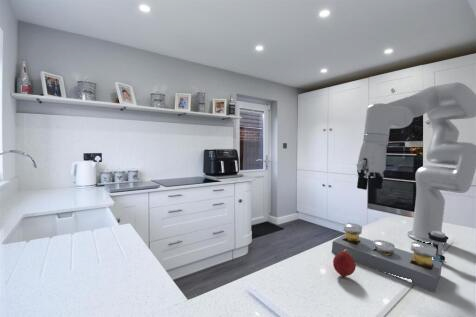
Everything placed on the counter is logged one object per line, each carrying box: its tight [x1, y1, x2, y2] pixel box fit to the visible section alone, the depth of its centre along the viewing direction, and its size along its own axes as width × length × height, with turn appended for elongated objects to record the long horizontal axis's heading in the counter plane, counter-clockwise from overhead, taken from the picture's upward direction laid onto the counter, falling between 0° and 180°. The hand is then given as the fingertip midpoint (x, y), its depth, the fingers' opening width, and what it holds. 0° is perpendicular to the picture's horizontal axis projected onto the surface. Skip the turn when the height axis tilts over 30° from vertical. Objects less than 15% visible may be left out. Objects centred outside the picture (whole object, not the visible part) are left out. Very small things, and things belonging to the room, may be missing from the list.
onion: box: [332, 249, 356, 278], centre depth 66 cm, size 6×6×8 cm
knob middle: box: [373, 239, 396, 256], centre depth 76 cm, size 6×6×6 cm
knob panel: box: [331, 234, 443, 293], centre depth 76 cm, size 13×28×4 cm, turn 43°
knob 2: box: [410, 241, 437, 269], centre depth 68 cm, size 6×6×6 cm
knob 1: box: [343, 222, 363, 245], centre depth 83 cm, size 6×6×6 cm
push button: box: [428, 231, 449, 266], centre depth 78 cm, size 7×5×10 cm
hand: (369, 188), depth 81 cm, fingers open, 9 cm apart
